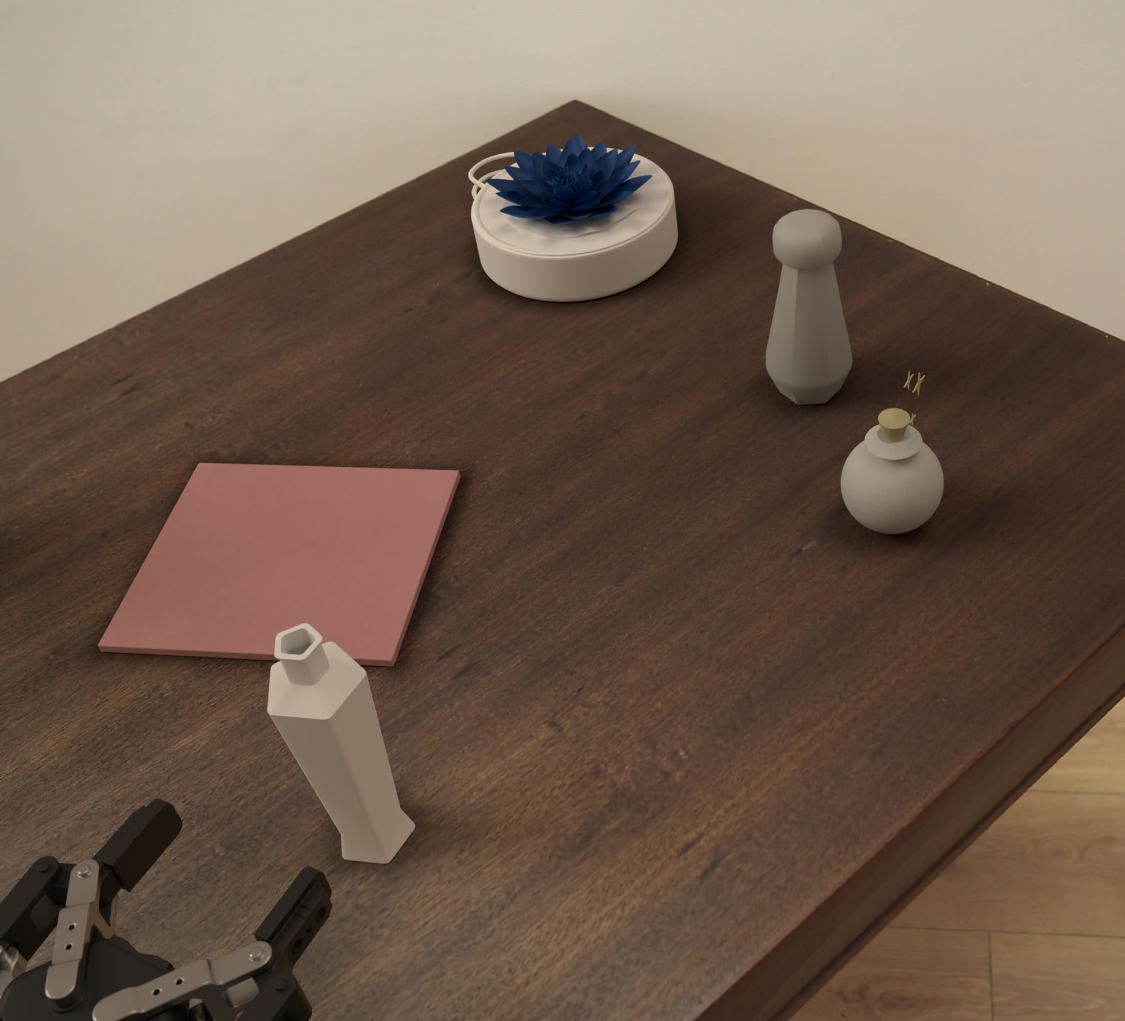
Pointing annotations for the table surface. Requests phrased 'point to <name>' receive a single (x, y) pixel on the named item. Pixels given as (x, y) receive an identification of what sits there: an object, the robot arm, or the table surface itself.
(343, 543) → the cosmetics mat
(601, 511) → the table surface
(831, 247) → the salt shaker
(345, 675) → the perfume bottle
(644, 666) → the table surface
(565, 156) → the box with blue lotus
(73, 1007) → the robot arm
